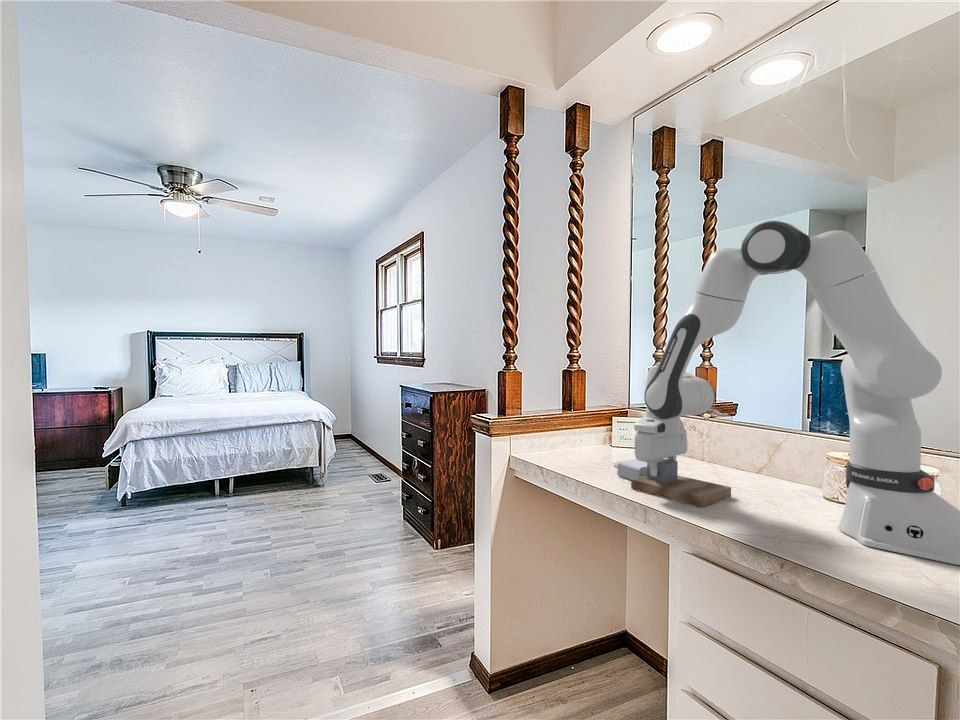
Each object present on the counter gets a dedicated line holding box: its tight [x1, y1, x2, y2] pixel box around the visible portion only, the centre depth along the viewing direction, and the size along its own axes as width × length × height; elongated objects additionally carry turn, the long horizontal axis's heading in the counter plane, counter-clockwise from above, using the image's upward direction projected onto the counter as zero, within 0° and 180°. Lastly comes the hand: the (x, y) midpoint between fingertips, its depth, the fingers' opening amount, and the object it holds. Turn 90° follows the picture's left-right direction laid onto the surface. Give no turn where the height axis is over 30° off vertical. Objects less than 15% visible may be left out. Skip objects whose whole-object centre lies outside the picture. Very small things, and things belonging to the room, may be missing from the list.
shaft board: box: [630, 474, 732, 508], centre depth 127 cm, size 20×14×6 cm
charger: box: [612, 458, 647, 481], centre depth 145 cm, size 5×9×15 cm
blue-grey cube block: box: [647, 458, 679, 483], centre depth 131 cm, size 6×6×5 cm
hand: (662, 473), depth 131 cm, fingers closed on blue-grey cube block, 5 cm apart
